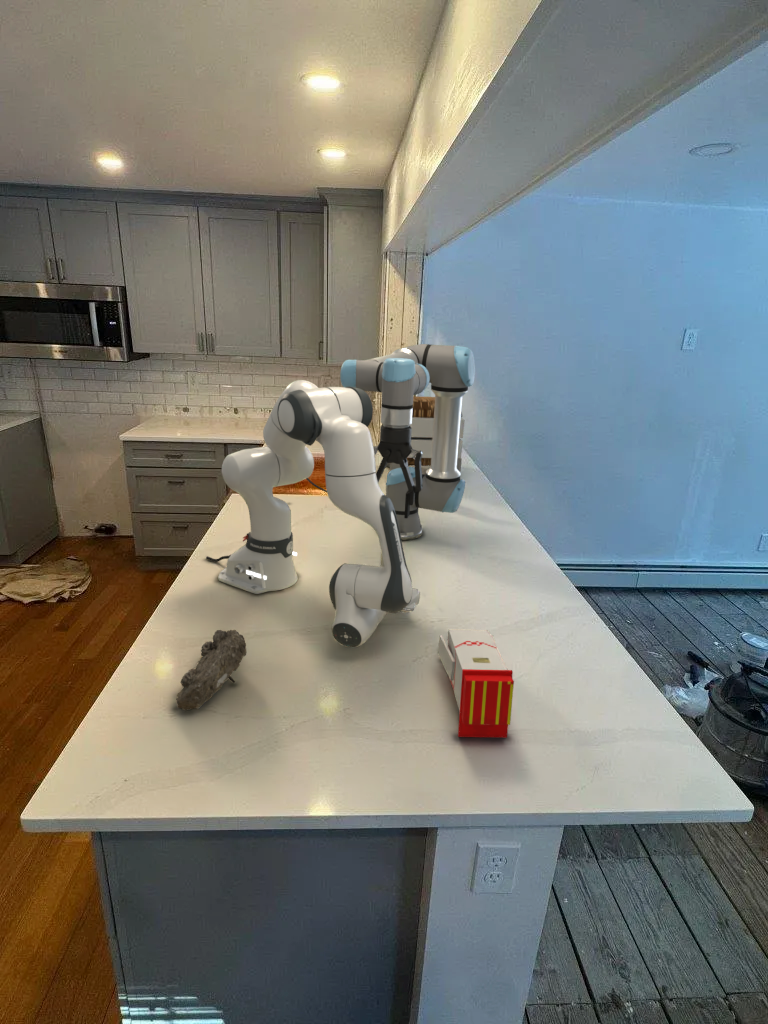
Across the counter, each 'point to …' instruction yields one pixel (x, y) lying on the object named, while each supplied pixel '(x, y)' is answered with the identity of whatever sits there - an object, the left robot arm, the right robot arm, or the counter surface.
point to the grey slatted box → (426, 432)
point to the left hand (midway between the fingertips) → (389, 580)
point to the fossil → (212, 669)
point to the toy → (478, 682)
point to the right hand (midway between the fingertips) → (391, 514)
